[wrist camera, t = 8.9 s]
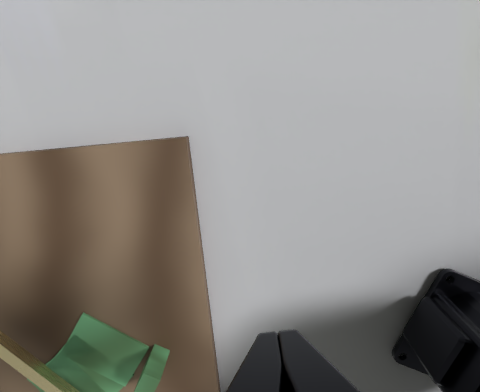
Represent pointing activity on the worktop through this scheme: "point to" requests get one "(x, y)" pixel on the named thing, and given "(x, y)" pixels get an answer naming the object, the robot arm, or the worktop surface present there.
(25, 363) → the wood grain plank
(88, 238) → the tuner board
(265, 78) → the worktop surface
